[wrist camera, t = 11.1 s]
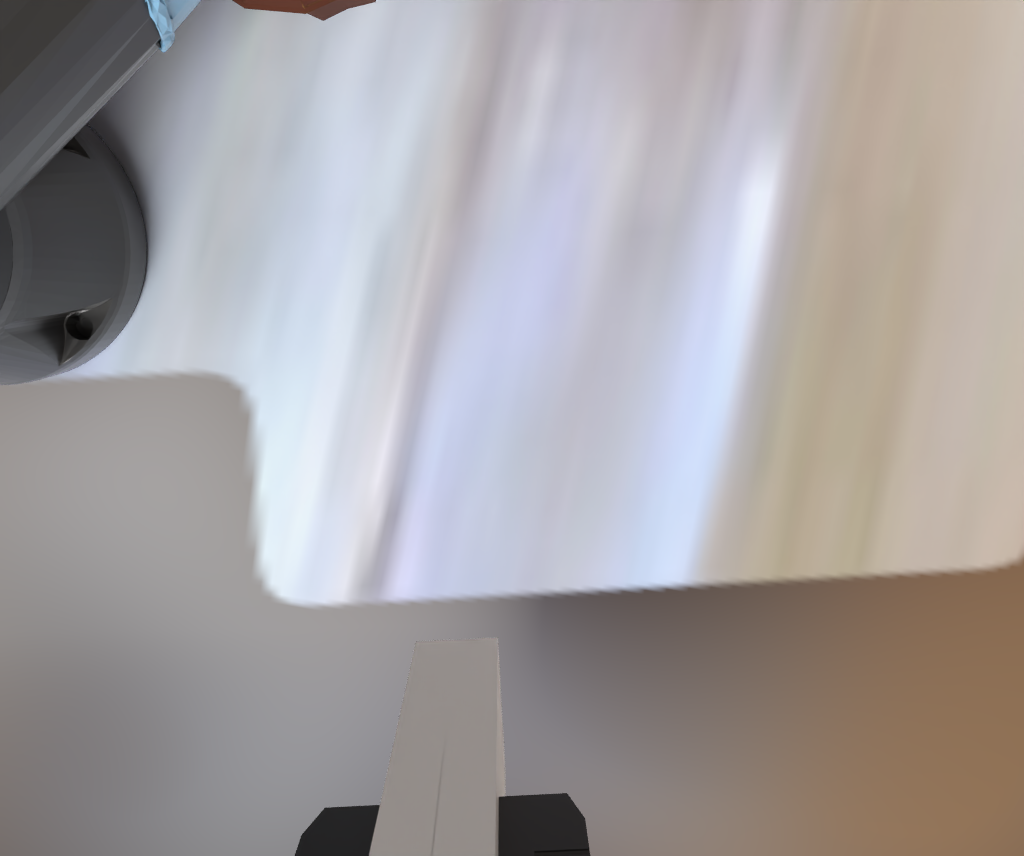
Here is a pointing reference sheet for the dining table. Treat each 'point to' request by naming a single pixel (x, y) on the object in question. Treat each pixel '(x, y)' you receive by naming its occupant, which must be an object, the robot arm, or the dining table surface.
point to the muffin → (304, 6)
